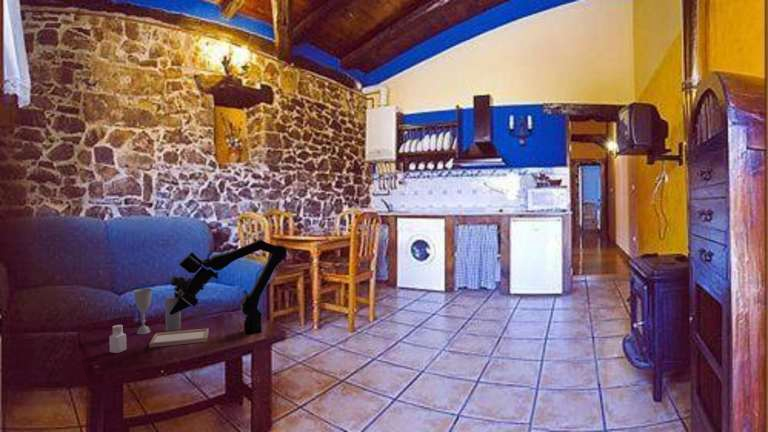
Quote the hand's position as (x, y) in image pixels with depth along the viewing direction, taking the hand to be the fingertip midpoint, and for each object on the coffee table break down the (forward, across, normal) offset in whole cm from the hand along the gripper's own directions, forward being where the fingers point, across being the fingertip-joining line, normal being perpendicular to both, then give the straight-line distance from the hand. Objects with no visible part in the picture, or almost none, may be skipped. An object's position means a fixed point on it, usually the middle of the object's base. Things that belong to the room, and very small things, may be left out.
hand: (169, 312), depth 158 cm
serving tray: (+6, -4, +12) cm, 14 cm away
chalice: (+14, -23, +4) cm, 27 cm away
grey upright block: (+4, 0, +6) cm, 7 cm away
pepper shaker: (+21, -3, -3) cm, 21 cm away
